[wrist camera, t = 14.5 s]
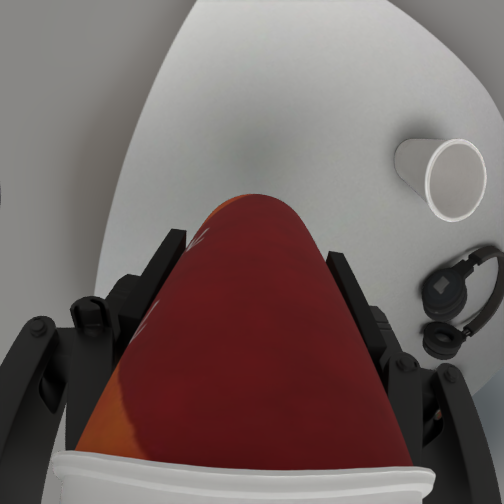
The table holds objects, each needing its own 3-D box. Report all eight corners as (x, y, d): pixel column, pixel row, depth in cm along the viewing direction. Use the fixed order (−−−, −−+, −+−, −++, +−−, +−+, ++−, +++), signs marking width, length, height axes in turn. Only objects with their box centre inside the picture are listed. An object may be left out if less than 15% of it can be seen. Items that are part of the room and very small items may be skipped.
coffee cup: (160, 196, 15) (-39, 463, 2) (311, 154, 14) (552, 486, 1) (210, 316, 19) (167, 556, 5) (336, 289, 18) (404, 543, 4)
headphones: (440, 303, 30) (523, 241, 29) (411, 276, 37) (493, 225, 36) (435, 375, 37) (510, 318, 36) (415, 348, 44) (488, 298, 43)
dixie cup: (448, 151, 29) (497, 170, 20) (420, 204, 33) (462, 236, 24) (403, 114, 28) (450, 121, 19) (372, 172, 31) (411, 197, 23)
